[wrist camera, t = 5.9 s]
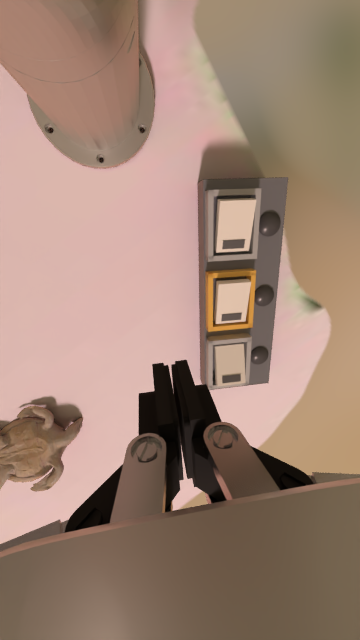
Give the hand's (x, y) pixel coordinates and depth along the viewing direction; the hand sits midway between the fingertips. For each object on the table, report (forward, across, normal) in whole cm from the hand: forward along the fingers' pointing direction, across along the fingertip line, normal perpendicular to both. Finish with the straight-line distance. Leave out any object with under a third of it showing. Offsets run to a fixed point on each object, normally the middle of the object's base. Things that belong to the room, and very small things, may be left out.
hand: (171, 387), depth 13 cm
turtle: (+24, +21, +23) cm, 39 cm away
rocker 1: (+20, -10, -6) cm, 23 cm away
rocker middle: (+20, -10, +3) cm, 22 cm away
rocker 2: (+19, -10, +12) cm, 25 cm away
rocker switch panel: (+24, -12, +3) cm, 27 cm away
